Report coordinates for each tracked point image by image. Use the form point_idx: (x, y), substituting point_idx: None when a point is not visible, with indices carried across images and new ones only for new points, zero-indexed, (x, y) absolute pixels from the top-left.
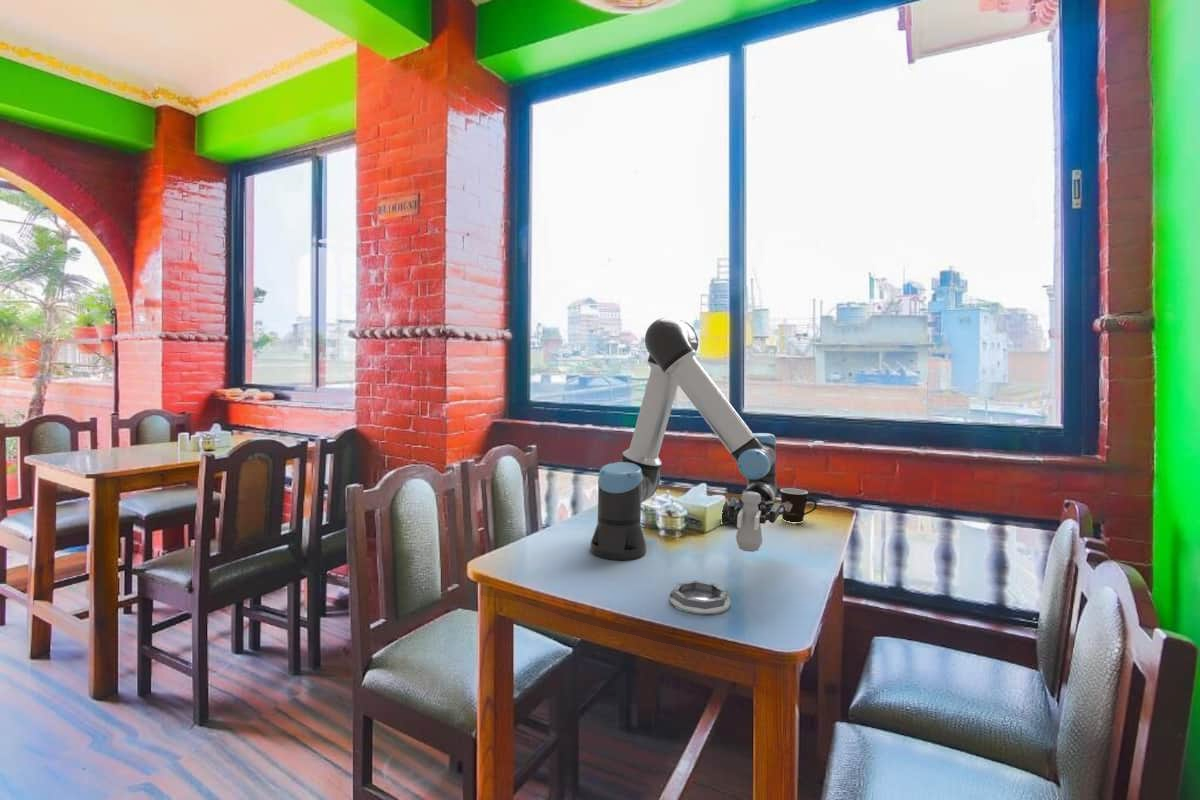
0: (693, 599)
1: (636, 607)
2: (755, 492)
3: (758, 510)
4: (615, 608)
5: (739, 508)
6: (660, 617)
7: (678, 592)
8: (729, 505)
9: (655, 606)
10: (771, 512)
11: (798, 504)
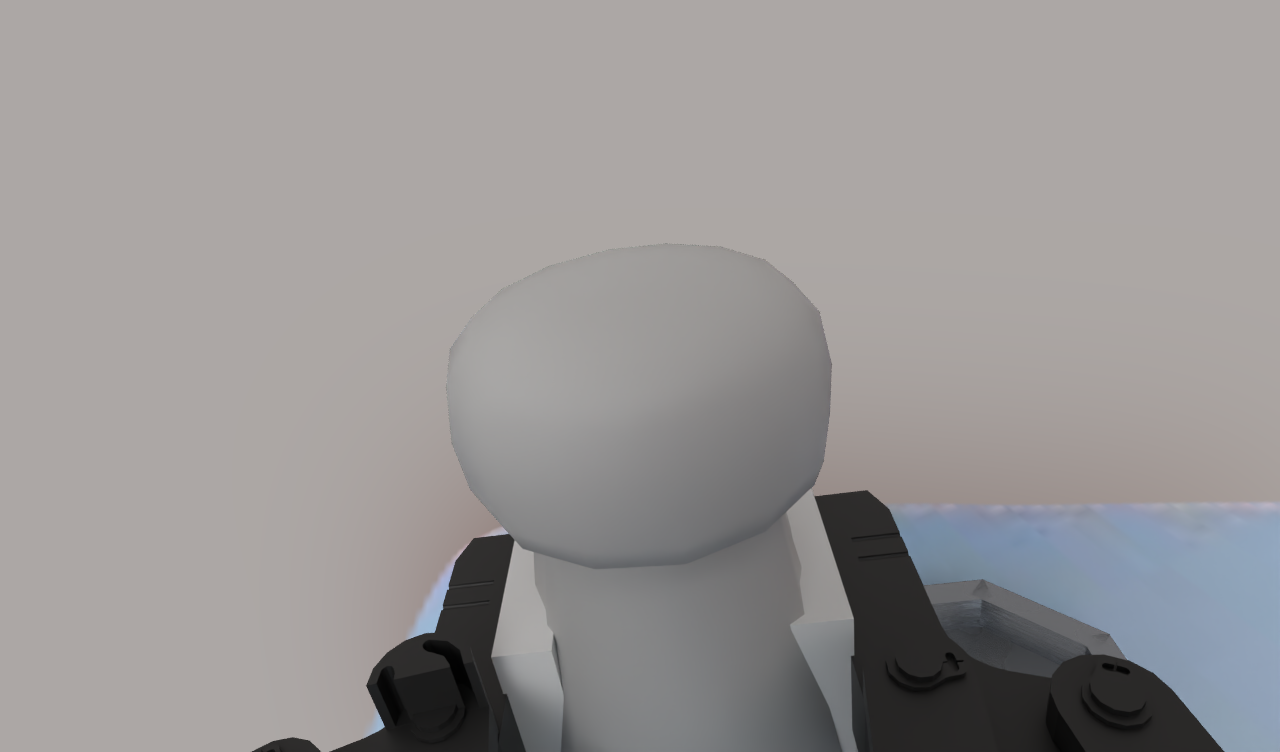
0: (937, 591)
1: (1180, 559)
2: (540, 316)
3: (536, 562)
4: (1239, 516)
5: (898, 643)
6: (1014, 532)
7: (1063, 627)
8: (1215, 749)
9: (1122, 603)
10: (302, 744)
11: None
